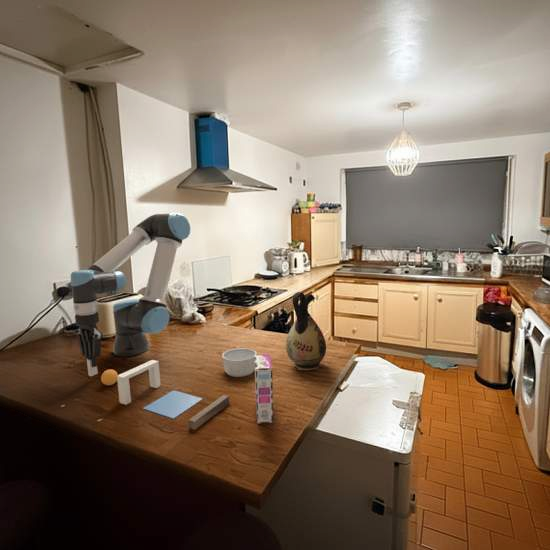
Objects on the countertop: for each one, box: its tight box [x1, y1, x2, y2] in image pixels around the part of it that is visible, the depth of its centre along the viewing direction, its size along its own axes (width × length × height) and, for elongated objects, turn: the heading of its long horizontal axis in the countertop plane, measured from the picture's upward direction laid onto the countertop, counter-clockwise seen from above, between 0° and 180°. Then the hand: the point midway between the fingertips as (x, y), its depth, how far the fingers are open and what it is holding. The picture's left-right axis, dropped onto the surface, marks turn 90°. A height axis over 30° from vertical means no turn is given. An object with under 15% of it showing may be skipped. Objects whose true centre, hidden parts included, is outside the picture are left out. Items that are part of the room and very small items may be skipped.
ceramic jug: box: [285, 291, 327, 371], centre depth 136 cm, size 17×15×30 cm
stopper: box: [188, 394, 230, 431], centre depth 106 cm, size 2×16×2 cm, turn 151°
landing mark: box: [142, 389, 204, 420], centre depth 113 cm, size 13×13×1 cm
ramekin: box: [221, 347, 258, 378], centre depth 136 cm, size 13×13×7 cm
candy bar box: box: [254, 354, 274, 425], centre depth 105 cm, size 11×5×16 cm, turn 5°
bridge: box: [116, 359, 162, 406], centre depth 120 cm, size 3×14×9 cm, turn 151°
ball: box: [100, 368, 119, 386], centre depth 128 cm, size 6×6×6 cm
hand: (93, 374), depth 132 cm, fingers closed
